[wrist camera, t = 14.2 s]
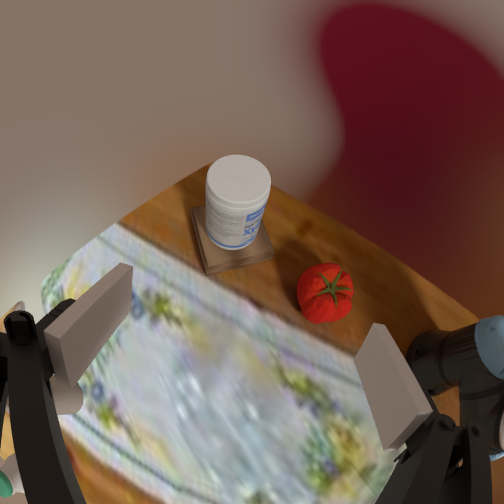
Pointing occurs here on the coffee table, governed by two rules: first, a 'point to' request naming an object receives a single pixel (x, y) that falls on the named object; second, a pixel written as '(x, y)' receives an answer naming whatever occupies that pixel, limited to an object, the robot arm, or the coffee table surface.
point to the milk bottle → (10, 477)
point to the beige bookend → (63, 398)
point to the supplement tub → (235, 200)
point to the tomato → (324, 293)
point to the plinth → (225, 259)
